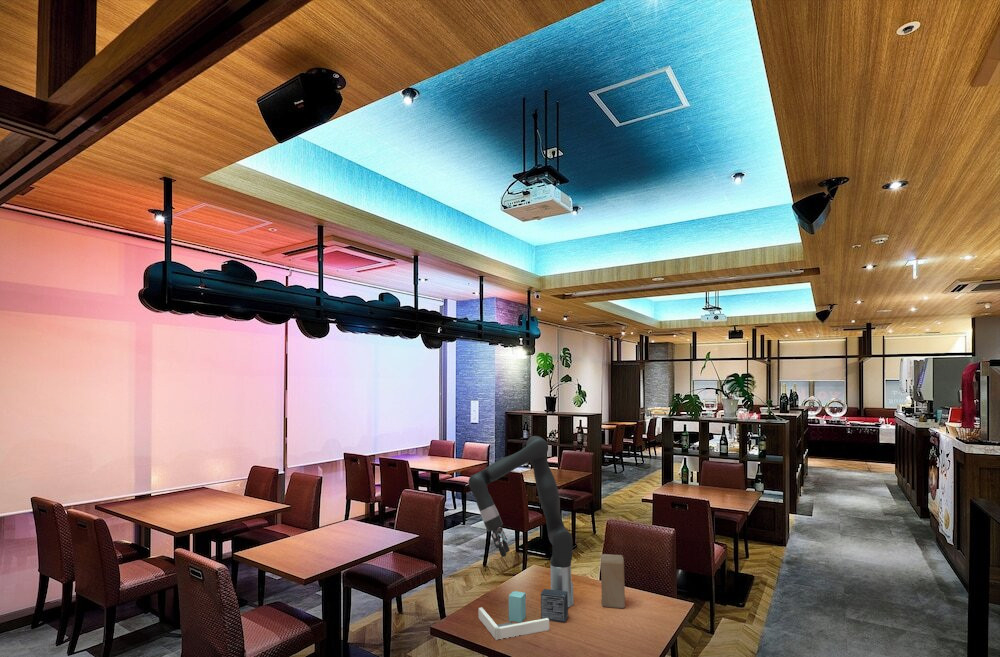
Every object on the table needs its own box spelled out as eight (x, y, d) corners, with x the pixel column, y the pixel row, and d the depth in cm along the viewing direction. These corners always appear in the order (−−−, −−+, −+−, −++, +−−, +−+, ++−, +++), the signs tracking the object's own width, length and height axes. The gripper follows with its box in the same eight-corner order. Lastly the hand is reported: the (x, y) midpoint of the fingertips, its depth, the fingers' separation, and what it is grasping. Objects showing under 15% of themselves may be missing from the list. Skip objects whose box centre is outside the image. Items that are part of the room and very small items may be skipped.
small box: (568, 616, 224) (568, 590, 225) (565, 623, 218) (565, 596, 219) (544, 613, 228) (544, 587, 229) (540, 619, 222) (540, 593, 223)
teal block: (513, 615, 226) (513, 590, 227) (525, 617, 224) (525, 592, 225) (508, 620, 221) (508, 595, 222) (521, 623, 219) (520, 597, 220)
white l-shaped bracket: (527, 609, 232) (527, 599, 232) (549, 630, 212) (549, 619, 213) (478, 617, 223) (478, 608, 224) (496, 640, 204) (496, 629, 204)
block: (625, 609, 231) (623, 561, 233) (601, 607, 233) (600, 560, 235) (624, 600, 241) (623, 554, 243) (602, 598, 243) (601, 553, 245)
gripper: (495, 516, 225) (511, 554, 221) (501, 511, 239) (516, 547, 235) (480, 523, 226) (495, 561, 222) (486, 518, 240) (501, 553, 236)
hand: (506, 554), depth 229 cm, fingers open, 8 cm apart
